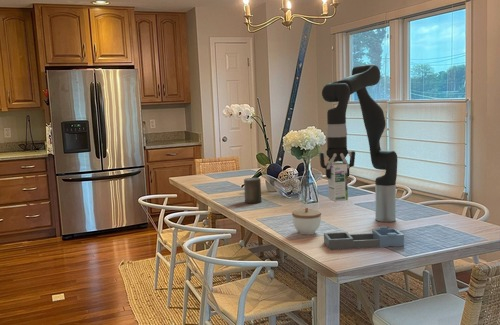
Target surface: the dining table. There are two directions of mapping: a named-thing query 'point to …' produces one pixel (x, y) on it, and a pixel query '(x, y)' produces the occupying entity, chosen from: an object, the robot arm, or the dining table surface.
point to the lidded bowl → (306, 220)
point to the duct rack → (364, 239)
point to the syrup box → (338, 182)
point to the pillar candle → (252, 190)
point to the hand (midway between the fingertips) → (337, 177)
